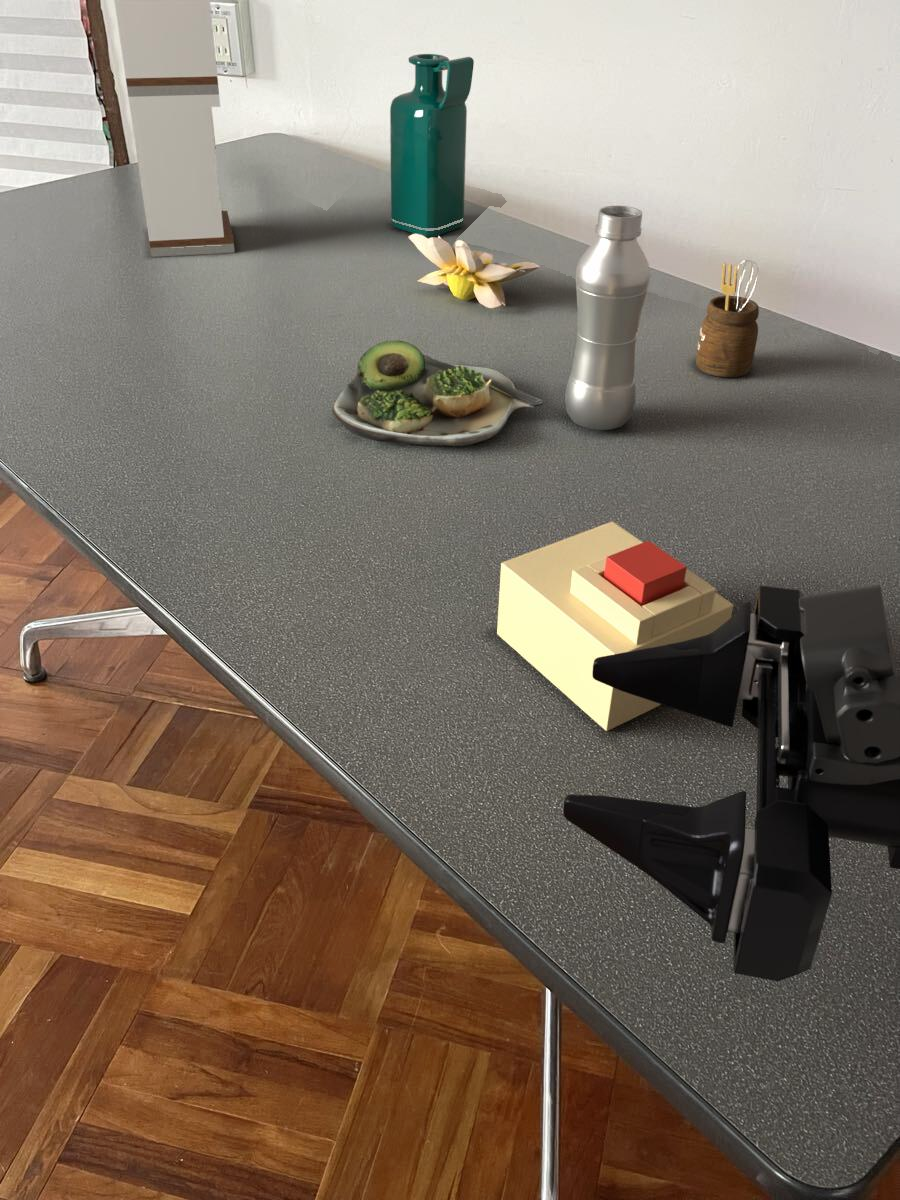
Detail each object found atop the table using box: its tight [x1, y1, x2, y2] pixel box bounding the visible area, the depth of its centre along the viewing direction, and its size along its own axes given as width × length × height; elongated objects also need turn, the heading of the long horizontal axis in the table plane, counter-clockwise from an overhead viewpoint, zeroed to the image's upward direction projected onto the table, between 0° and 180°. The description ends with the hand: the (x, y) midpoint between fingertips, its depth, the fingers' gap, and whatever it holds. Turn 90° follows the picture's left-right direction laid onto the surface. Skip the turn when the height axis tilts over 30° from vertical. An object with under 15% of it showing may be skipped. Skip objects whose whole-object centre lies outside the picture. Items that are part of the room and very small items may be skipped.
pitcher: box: [389, 53, 475, 238], centre depth 145 cm, size 10×8×22 cm
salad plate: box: [331, 339, 544, 447], centre depth 104 cm, size 19×18×5 cm
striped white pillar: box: [113, 0, 236, 258], centre depth 134 cm, size 11×11×35 cm
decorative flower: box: [408, 233, 542, 309], centre depth 127 cm, size 15×11×10 cm
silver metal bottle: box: [564, 205, 651, 431], centre depth 98 cm, size 6×7×20 cm
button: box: [604, 540, 688, 606], centre depth 68 cm, size 4×4×2 cm
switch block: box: [496, 521, 734, 732], centre depth 73 cm, size 12×10×8 cm
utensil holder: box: [695, 259, 760, 378], centre depth 111 cm, size 6×6×12 cm
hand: (579, 731), depth 48 cm, fingers open, 9 cm apart
